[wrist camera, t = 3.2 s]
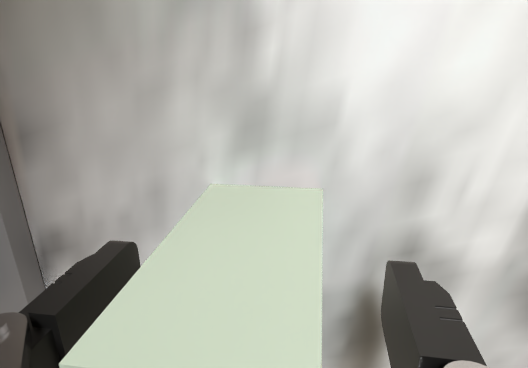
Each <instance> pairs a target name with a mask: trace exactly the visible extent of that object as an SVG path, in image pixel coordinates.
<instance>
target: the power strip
mask: <svg viewBox="0 0 528 368" xmlns="http://www.w3.org/2000/svg"><path fill="white" fill-rule="evenodd" d="M44 290H45V287H44V283H43V280H42V276H41V272H40V269H39V265H38V261H37V258H36V254H35V250H34V247H33V243H32V239H31V236H30V232H29V228H28V225H27V221H26V217H25V214H24V210H23V206H22V203H21V199H20V195H19V192H18V188H17V185H16V181H15V177H14V174H13V170H12V166H11V163H10V159H9V155H8V152H7V148H6V144H5V141H4V137H3V133H2V130H1V126H0V314H2V313H8V312H17V313H19V312H20V311H21V310H22V309H23V308H24V307H26V306H27V305H28V304H29V303H30V302H31V301H33V300H34V299H35V298H36V297H37V296H38V295H40V294H41V293H42V292H43V291H44Z"/></svg>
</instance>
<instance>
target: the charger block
mask: <svg viewBox="0 0 528 368" xmlns="http://www.w3.org/2000/svg"><path fill="white" fill-rule="evenodd" d="M322 244H323V189H317V188H293V187H269V186H245V185H222V184H210V186H209V187H208V188H207V189H206V190H205V191H204V193H203V194H202V195H201V196H200V197H199V199H198V200H197V201H196V202H195V203H194V204H193V206H192V207H191V208H190V209H189V210H188V212H187V213H186V214H185V215H184V216H183V217H182V219H181V220H180V221H179V222H178V223H177V225H176V226H175V227H174V228H173V229H172V230H171V232H170V233H169V234H168V235H167V236H166V238H165V239H164V240H163V241H162V242H161V243H160V245H159V246H158V247H157V248H156V249H155V251H154V252H153V253H152V254H151V255H150V256H149V258H148V259H147V260H146V261H145V262H144V264H143V265H142V266H141V267H140V268H139V269H138V271H137V272H136V273H135V274H134V275H133V277H132V278H131V279H130V280H129V281H128V283H127V284H126V285H125V286H124V287H123V288H122V290H121V291H120V292H119V293H118V294H117V296H116V297H115V298H114V299H113V300H112V301H111V303H110V304H109V305H108V306H107V307H106V309H105V310H104V311H103V312H102V313H101V314H100V316H99V317H98V318H97V319H96V320H95V322H94V323H93V324H92V325H91V326H90V327H89V329H88V330H87V331H86V332H85V333H84V335H83V336H82V337H81V338H80V339H79V340H78V342H77V343H76V344H75V345H74V346H73V348H72V349H71V350H70V351H69V352H68V353H67V355H66V356H65V357H64V358H63V359H62V361H61V362H60V363H59V367H60V368H322Z"/></svg>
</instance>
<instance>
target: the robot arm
mask: <svg viewBox="0 0 528 368" xmlns="http://www.w3.org/2000/svg"><path fill="white" fill-rule="evenodd" d="M139 268H140V260H139V254H138V248H137V245H136V244H135V243H134V242H126V241H109V242H107V243H106V244H105V245H104V246H103V247H102V248H101V249H99V250H98V251H97V252H96V253H95V254H93V255H91V256H89V257H87V258H85V259H83V260H81V261H79V262H77V263H76V264H75V265H74V266H72V267H71V268H70V269H69V270H68V271H67V272H65V275H62V276H61V277H59V278H58V279H57V280H56V281H55V284H53V283H52V284H51V285H50V286H49V287H48V288H47V289H45V290H44V291H43V292H42V293H41V294H40V295H38V296H37V297H36V298H35V299H34V300H33V301H31V302H30V303H29V304H28V305H27V306H26V307H24V308H23V309H22V310H21V311H20V312H19V313H17V312H8V313H2V314H0V368H60V367H59V363H60V362H61V361H62V359H63V358H64V357H65V356H66V355H67V353H68V352H69V351H70V350H71V349H72V348H73V346H74V345H75V344H76V343H77V342H78V340H79V339H80V338H81V337H82V336H83V335H84V333H85V332H86V331H87V330H88V329H89V327H90V326H91V325H92V324H93V323H94V322H95V320H96V319H97V318H98V317H99V316H100V314H101V313H102V312H103V311H104V310H105V309H106V307H107V306H108V305H109V304H110V303H111V301H112V300H113V299H114V298H115V297H116V296H117V294H118V293H119V292H120V291H121V290H122V288H123V287H124V286H125V285H126V284H127V283H128V281H129V280H130V279H131V278H132V277H133V275H134V274H135V273H136V272H137V271H138V269H139ZM381 319H382V327H383V332H384V337H385V342H386V346H387V351H388V356H389V360H390V365H391V368H489V367H487V366H486V364H485V362H484V360H483V358H482V356H481V354H480V352H479V350H478V348H477V346H476V344H475V342H474V340H473V339H472V337H471V335H470V333H469V331H468V329H467V327H466V325H465V323H464V322H463V321H462V317H461V315H460V313H459V312H458V310H456V306H455V304H454V302H453V300H452V298H451V296H450V294H449V293H448V292H447V291H446V290H444V289H443V288H442V287H441V286H440V285H439V284H438V283H436V282H435V281H424V280H423V278H422V276H421V273H420V271H419V269H418V267H417V264H416V263H415V262H402V261H388V262H387V265H386V272H385V280H384V288H383V297H382V305H381Z"/></svg>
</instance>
